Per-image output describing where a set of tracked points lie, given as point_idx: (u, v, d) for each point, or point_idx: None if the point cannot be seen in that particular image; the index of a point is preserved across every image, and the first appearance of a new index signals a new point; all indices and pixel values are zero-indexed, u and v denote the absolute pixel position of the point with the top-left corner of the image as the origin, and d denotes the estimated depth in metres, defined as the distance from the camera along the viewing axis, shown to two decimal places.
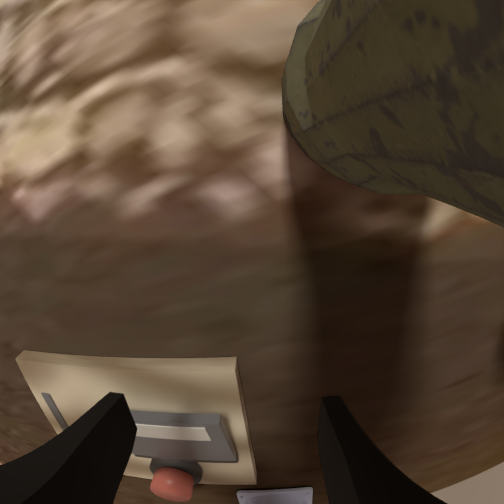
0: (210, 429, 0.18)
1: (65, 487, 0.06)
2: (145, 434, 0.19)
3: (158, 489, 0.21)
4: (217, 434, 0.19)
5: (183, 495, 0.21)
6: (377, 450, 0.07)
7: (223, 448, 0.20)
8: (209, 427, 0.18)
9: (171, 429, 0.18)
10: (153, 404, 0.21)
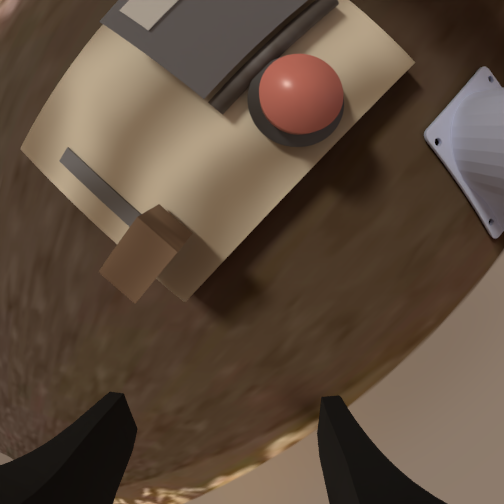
0: None
1: (65, 487, 0.06)
2: None
3: (281, 102, 0.13)
4: None
5: (325, 80, 0.12)
6: (377, 450, 0.07)
7: None
8: None
9: None
10: None
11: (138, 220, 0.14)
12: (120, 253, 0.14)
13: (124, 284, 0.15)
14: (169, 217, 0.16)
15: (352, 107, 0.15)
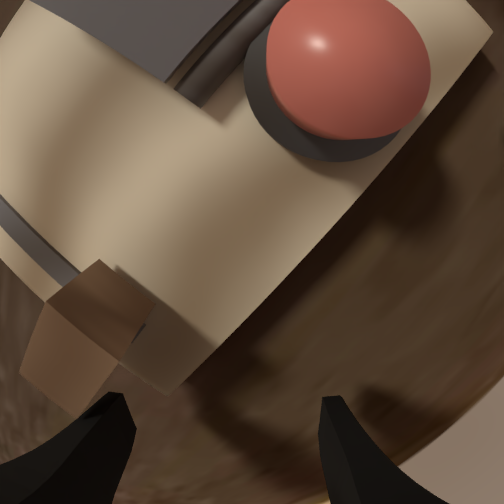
0: None
1: (64, 487, 0.06)
2: None
3: (314, 75, 0.06)
4: None
5: (396, 37, 0.05)
6: (378, 450, 0.07)
7: None
8: None
9: None
10: None
11: (48, 307, 0.07)
12: (37, 353, 0.07)
13: (55, 394, 0.08)
14: (114, 282, 0.10)
15: None
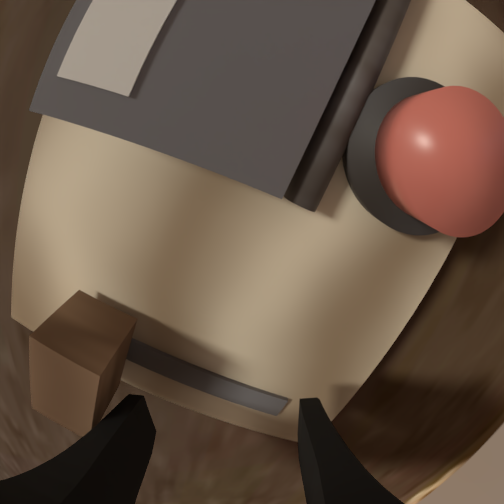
0: None
1: (89, 495, 0.06)
2: (151, 3, 0.06)
3: (442, 191, 0.06)
4: None
5: (491, 131, 0.06)
6: (350, 454, 0.07)
7: None
8: None
9: None
10: None
11: (32, 340, 0.07)
12: (39, 385, 0.08)
13: (65, 421, 0.08)
14: (94, 307, 0.10)
15: None
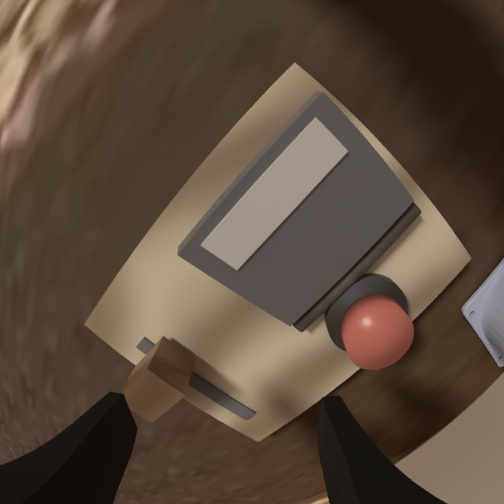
0: (325, 117, 0.12)
1: (65, 487, 0.06)
2: (264, 224, 0.14)
3: (363, 351, 0.15)
4: (342, 125, 0.12)
5: (402, 330, 0.14)
6: (377, 450, 0.07)
7: (377, 168, 0.13)
8: (319, 111, 0.12)
9: (282, 165, 0.12)
10: None
11: (148, 371, 0.15)
12: (135, 391, 0.15)
13: (141, 411, 0.16)
14: (174, 350, 0.18)
15: (411, 310, 0.18)
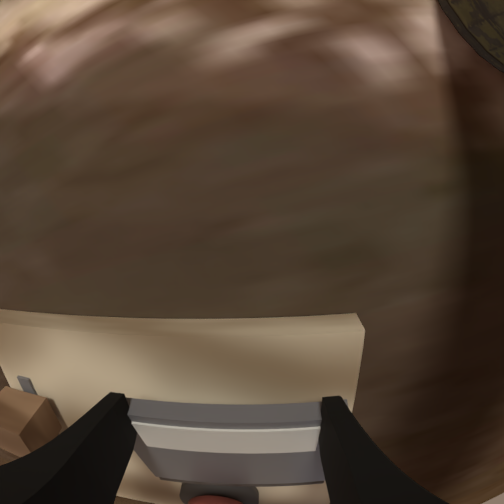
0: None
1: (66, 487, 0.06)
2: (198, 446, 0.11)
3: None
4: None
5: None
6: (378, 450, 0.07)
7: None
8: None
9: (255, 435, 0.10)
10: (206, 399, 0.13)
11: (18, 436, 0.10)
12: None
13: None
14: (48, 415, 0.13)
15: None
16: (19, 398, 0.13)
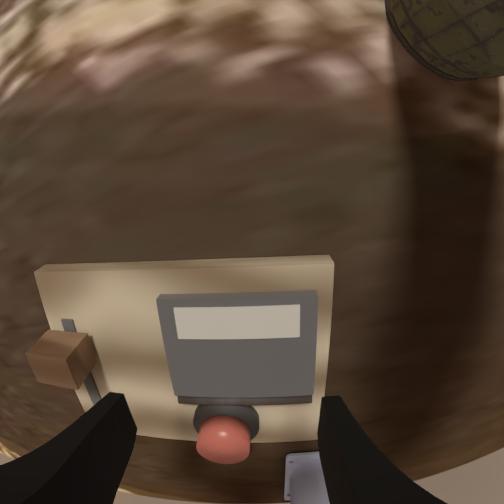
0: (305, 308, 0.18)
1: (65, 487, 0.06)
2: (216, 331, 0.18)
3: (207, 446, 0.19)
4: (310, 321, 0.18)
5: (239, 453, 0.19)
6: (377, 450, 0.07)
7: (307, 359, 0.18)
8: (305, 303, 0.17)
9: (257, 312, 0.18)
10: None
11: (65, 362, 0.16)
12: (44, 360, 0.16)
13: (37, 371, 0.17)
14: (88, 348, 0.19)
15: (255, 437, 0.22)
16: (63, 336, 0.19)
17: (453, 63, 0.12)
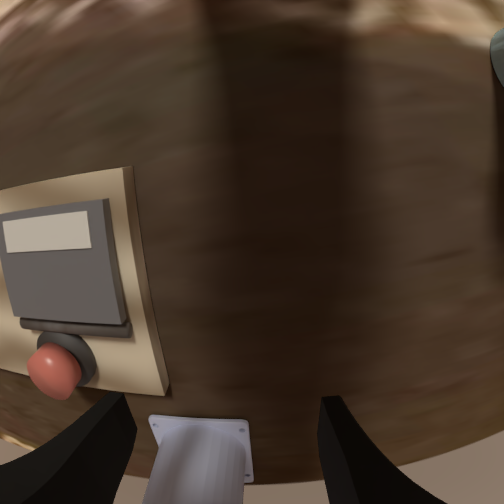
0: (92, 215, 0.16)
1: (65, 487, 0.06)
2: (29, 242, 0.16)
3: (35, 373, 0.17)
4: (98, 229, 0.16)
5: (62, 385, 0.17)
6: (377, 450, 0.07)
7: (104, 277, 0.16)
8: (91, 209, 0.16)
9: (54, 220, 0.16)
10: None
11: None
12: None
13: None
14: None
15: (99, 382, 0.20)
16: None
17: None
